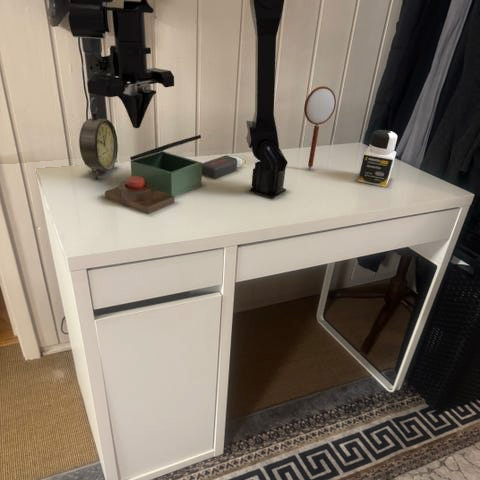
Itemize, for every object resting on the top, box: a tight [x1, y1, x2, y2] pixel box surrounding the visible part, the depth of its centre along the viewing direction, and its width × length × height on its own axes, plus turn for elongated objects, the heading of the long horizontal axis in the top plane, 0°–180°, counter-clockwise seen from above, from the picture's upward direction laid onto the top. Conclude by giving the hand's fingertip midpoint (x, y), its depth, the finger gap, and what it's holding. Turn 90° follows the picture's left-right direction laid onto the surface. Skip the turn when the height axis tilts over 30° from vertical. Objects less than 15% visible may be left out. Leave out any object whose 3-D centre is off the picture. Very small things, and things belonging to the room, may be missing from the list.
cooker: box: [130, 150, 203, 198], centre depth 104 cm, size 12×11×5 cm
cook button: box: [125, 175, 145, 190], centre depth 94 cm, size 4×4×2 cm
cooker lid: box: [129, 134, 202, 161], centre depth 101 cm, size 12×11×1 cm
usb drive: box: [202, 154, 242, 180], centre depth 115 cm, size 5×12×3 cm, turn 144°
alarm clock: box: [78, 97, 119, 180], centre depth 104 cm, size 11×5×16 cm, turn 168°
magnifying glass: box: [303, 86, 337, 171], centre depth 116 cm, size 9×2×20 cm, turn 113°
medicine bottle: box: [357, 129, 398, 188], centre depth 116 cm, size 7×7×12 cm
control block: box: [104, 180, 175, 215], centre depth 96 cm, size 12×8×4 cm
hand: (136, 127), depth 96 cm, fingers closed
